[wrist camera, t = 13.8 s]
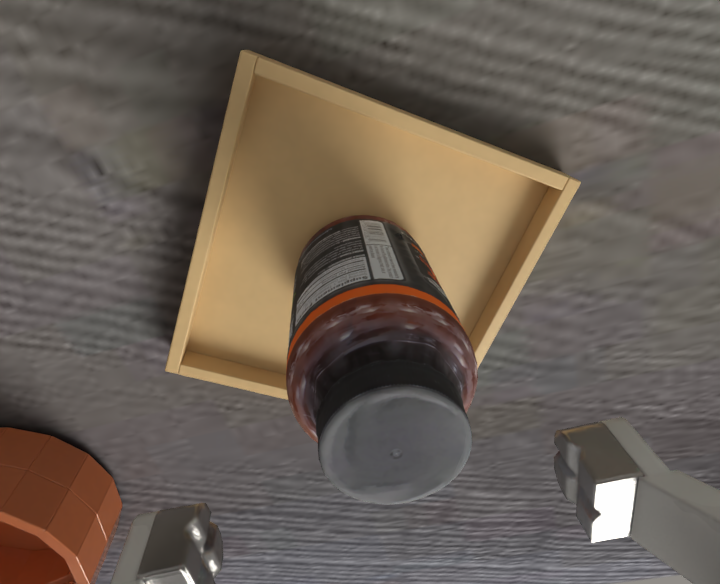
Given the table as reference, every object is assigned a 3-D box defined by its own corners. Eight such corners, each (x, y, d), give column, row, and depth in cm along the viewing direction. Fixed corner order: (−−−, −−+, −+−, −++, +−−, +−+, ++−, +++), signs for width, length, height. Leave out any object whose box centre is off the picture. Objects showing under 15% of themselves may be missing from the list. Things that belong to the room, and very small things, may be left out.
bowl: (-79, 540, 28) (-152, 632, 24) (-81, 404, 24) (-170, 484, 20) (109, 567, 31) (74, 655, 26) (136, 446, 27) (100, 527, 22)
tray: (173, 351, 24) (164, 371, 23) (246, 49, 19) (240, 49, 17) (433, 414, 27) (440, 435, 26) (563, 172, 22) (582, 182, 20)
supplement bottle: (440, 303, 24) (533, 495, 14) (324, 344, 24) (332, 560, 14) (401, 189, 21) (481, 322, 11) (273, 238, 21) (235, 410, 11)
